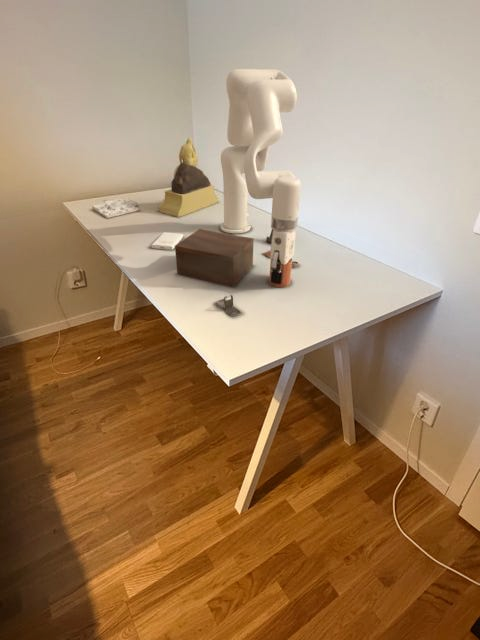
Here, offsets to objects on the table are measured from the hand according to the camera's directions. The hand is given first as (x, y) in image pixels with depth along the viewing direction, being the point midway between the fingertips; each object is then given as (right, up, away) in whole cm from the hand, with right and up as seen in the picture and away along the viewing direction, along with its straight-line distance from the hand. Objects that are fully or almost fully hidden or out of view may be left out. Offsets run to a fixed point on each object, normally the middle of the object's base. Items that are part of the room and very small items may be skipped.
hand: (279, 277), depth 120 cm
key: (+2, +8, +15) cm, 17 cm away
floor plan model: (-72, +40, +61) cm, 102 cm away
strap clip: (-16, -10, -12) cm, 23 cm away
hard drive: (-40, +16, +26) cm, 50 cm away
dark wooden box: (-21, +3, +7) cm, 22 cm away
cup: (0, -1, +1) cm, 2 cm away
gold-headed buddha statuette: (-37, +41, +63) cm, 84 cm away
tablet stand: (+3, +17, +28) cm, 33 cm away
